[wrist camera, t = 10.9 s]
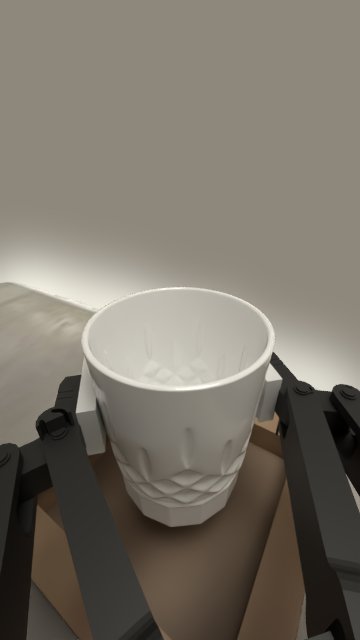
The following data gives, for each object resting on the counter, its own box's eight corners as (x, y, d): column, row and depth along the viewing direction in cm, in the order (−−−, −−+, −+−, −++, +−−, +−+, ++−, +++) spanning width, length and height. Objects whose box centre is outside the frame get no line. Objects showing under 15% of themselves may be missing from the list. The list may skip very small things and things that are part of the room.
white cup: (89, 462, 17) (48, 322, 12) (182, 396, 21) (180, 276, 16) (177, 588, 12) (171, 438, 7) (272, 465, 16) (310, 323, 11)
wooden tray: (-5, 535, 17) (-23, 510, 15) (155, 381, 28) (153, 358, 27) (243, 844, 9) (256, 858, 8) (321, 461, 21) (332, 436, 19)
